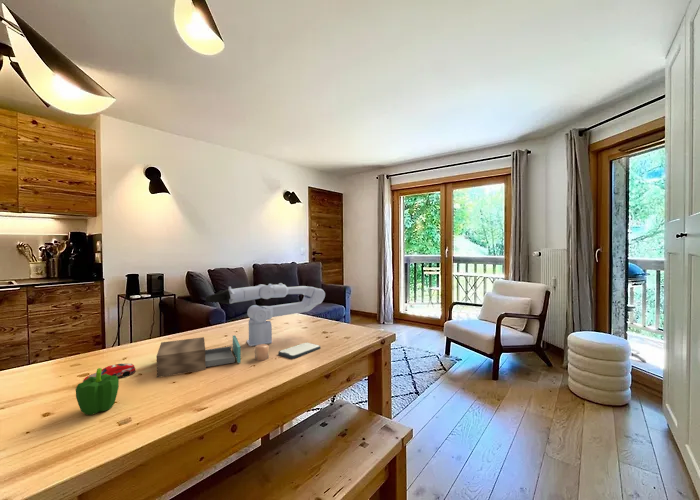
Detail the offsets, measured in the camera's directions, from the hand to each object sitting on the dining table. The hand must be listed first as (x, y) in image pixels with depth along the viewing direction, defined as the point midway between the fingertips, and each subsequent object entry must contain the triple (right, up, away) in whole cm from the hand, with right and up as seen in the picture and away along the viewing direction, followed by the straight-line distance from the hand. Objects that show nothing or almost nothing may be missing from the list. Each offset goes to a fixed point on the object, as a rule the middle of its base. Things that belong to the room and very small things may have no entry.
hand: (207, 299), depth 122 cm
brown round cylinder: (+24, -21, -8) cm, 32 cm away
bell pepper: (-7, -21, -44) cm, 49 cm away
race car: (-19, -21, -25) cm, 38 cm away
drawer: (+8, -20, -9) cm, 24 cm away
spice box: (-2, -21, -14) cm, 25 cm away
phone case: (+37, -21, 0) cm, 42 cm away
